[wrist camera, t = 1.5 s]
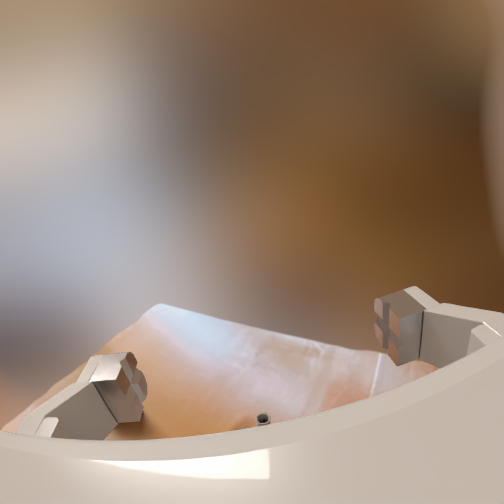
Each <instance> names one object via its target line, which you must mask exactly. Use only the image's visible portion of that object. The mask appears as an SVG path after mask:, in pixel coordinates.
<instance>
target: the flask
mask: <svg viewBox="0 0 504 504" xmlns="http://www.w3.org/2000/svg"><path fill="white" fill-rule="evenodd" d="M256 422H257V425H256V427H258V426H264V425H269V424H270V416H269V415H268V413H259V414H258V415H256Z"/></svg>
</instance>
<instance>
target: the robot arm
mask: <svg viewBox="0 0 504 504" xmlns="http://www.w3.org/2000/svg"><path fill="white" fill-rule="evenodd" d="M374 310H375V312H376V313H377V314H378V315H379V316H378V318H377V319H376V321H375V332H376V336H377V339H378V342H379V344H380V345H381V346H382V347H383V348H386V349H388V355H389V357H390V358H391V359H392V360H393V362H394V363H395V364H396V366H400V365H402V364H405V363H408V362H411V361H414V360H416V359H419V358H420V360H422V361H424V362H427V363H429V364H431V365H433V366H436V367H438V368H440V369H438V370H436V371H434V372H432V373H429V374H427V375H425V376H422V377H420V378H418V379H415V380H413V381H411V382H408V383H406V384H403V385H401V386H398V387H395V388H393V389H390V390H387V391H385V392H382V393H379V394H376V395H374V396H371V397H368V398H365V399H362V400H359V401H356V402H353V403H350V404H346V405H343V406H340V407H337V408H333V409H330V410H326V411H323V412H319V413H315V414H311V415H308V416H304V417H300V418H296V419H291V420H287V421H283V422H278V423H273V424H269V425H264V426H258V427H253V428H248V429H242V430H236V431H229V432H223V433H216V434H208V435H200V436H190V437H180V438H168V439H151V440H104V439H105V438H106V437H107V436H108V434H109V433H110V432H111V431H112V430H113V429H114V428H115V427H116V426H117V424H118V423H123V422H136V421H140V419H141V415H142V411H143V408H144V407H143V406H142V404H141V403H142V402H143V401H144V400H145V399H146V396H147V383H146V380H145V377H144V375H143V373H142V372H141V371H140V370H138V369H137V368H136V366H137V360H136V358H135V356H134V354H132V353H131V352H124V353H115V354H106V355H97V356H92V357H91V358H90V359H89V361H88V363H87V365H86V366H85V368H84V370H83V371H82V373H81V375H80V377H79V378H78V380H77V382H76V383H72V384H70V385H69V386H68V387H66V388H65V389H63V390H62V391H60V392H59V393H57V394H56V395H54V396H53V397H52V398H50V399H49V400H47V401H46V402H44V403H43V404H41V405H40V406H38V407H37V408H35V409H34V410H33V411H31V412H30V413H28V414H27V415H26V416H25V418H24V419H23V421H22V423H21V424H20V426H19V428H18V430H17V431H16V433H12V432H6V431H0V504H504V314H503V313H499V312H492V311H486V310H481V309H475V308H469V307H463V306H458V305H452V304H446V303H442V304H439V303H438V302H436V301H435V300H434V299H432V298H431V297H430V296H428V295H427V294H426V293H424V292H423V291H422V290H420V289H419V288H418V287H416V286H412V287H409V288H407V289H404V290H401V291H399V292H395V293H392V294H389V295H386V296H383V297H380V298H377V299H375V303H374Z"/></svg>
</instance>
